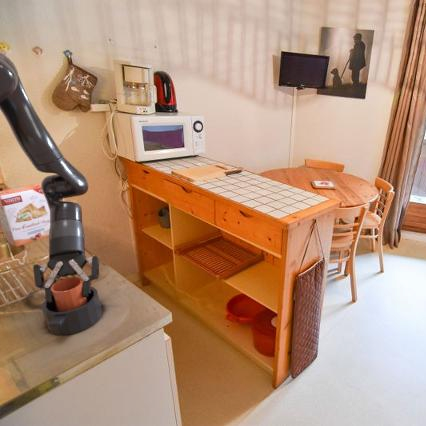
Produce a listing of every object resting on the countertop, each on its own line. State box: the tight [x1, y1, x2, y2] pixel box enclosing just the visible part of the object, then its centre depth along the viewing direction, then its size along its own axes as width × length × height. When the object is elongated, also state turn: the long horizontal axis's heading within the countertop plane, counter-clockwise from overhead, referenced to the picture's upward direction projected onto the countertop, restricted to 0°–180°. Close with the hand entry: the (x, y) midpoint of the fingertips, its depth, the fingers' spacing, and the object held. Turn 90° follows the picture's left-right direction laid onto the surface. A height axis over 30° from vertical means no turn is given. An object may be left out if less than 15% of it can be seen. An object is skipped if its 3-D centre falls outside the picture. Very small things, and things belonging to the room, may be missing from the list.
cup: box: [51, 276, 88, 312], centre depth 83 cm, size 6×6×9 cm
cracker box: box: [0, 183, 50, 248], centre depth 117 cm, size 14×6×21 cm, turn 154°
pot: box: [41, 286, 103, 337], centre depth 85 cm, size 12×17×7 cm
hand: (69, 299), depth 82 cm, fingers closed on cup, 6 cm apart
